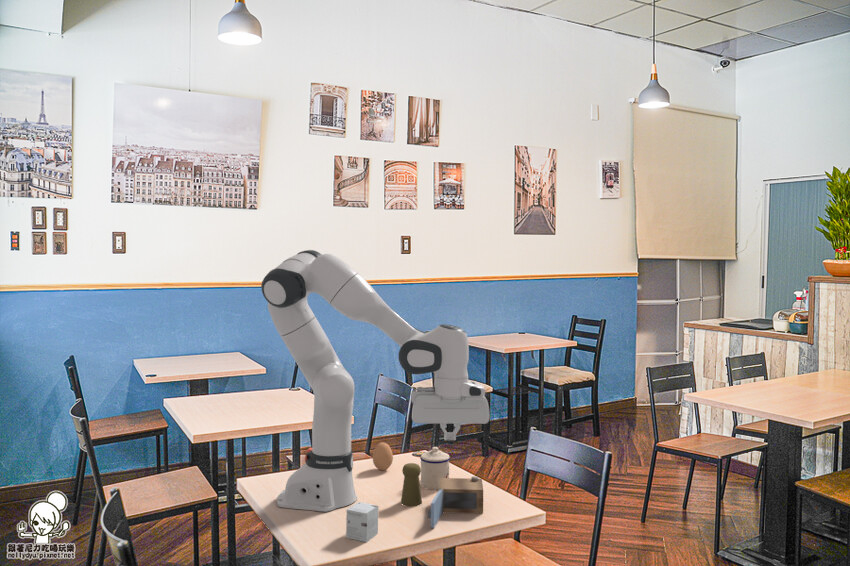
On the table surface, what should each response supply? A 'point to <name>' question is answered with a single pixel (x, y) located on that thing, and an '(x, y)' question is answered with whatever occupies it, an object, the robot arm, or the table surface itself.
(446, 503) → the case
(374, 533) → the skincare box
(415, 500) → the olive green pepper mill
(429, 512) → the door
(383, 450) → the egg
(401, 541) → the table surface
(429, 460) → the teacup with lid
